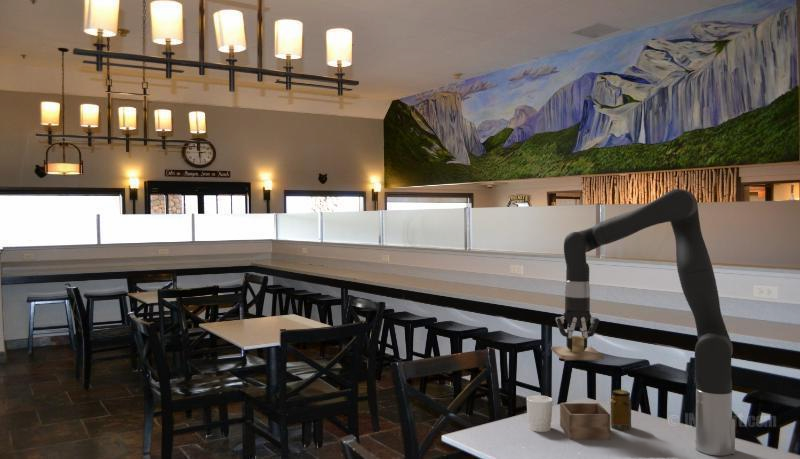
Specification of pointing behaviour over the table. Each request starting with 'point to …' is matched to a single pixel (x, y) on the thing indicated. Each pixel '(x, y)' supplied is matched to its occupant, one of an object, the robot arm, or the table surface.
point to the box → (584, 421)
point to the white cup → (539, 413)
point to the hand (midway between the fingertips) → (576, 349)
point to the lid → (577, 351)
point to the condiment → (620, 410)
